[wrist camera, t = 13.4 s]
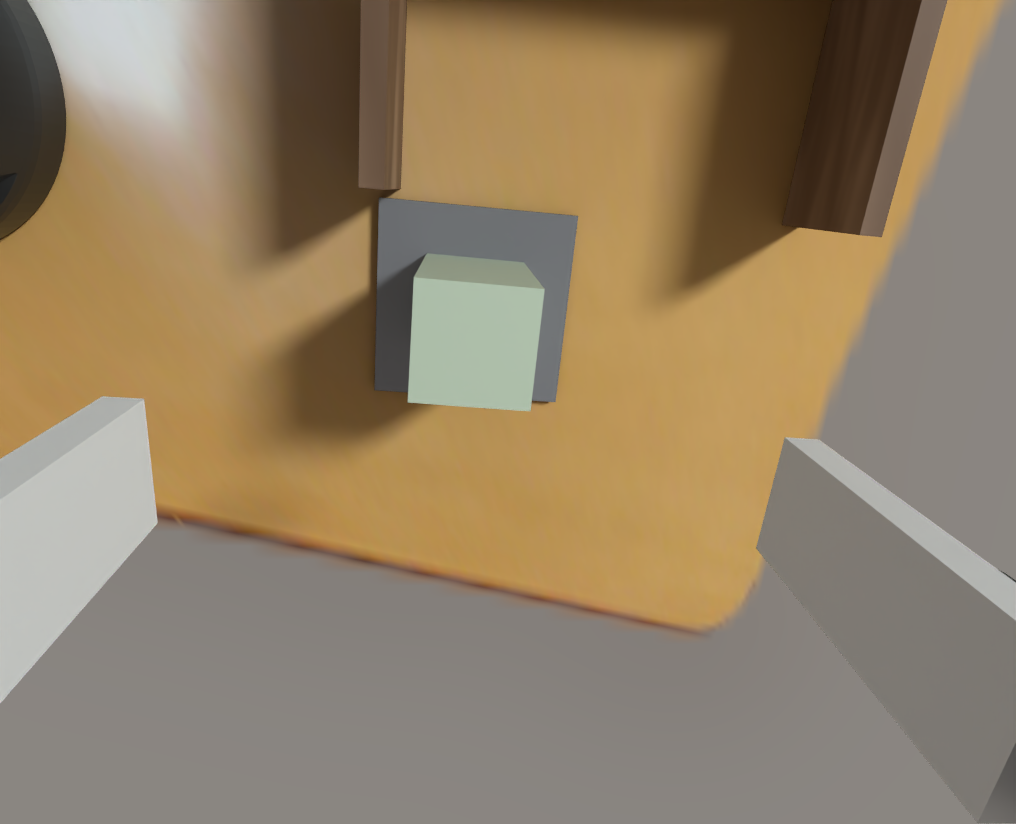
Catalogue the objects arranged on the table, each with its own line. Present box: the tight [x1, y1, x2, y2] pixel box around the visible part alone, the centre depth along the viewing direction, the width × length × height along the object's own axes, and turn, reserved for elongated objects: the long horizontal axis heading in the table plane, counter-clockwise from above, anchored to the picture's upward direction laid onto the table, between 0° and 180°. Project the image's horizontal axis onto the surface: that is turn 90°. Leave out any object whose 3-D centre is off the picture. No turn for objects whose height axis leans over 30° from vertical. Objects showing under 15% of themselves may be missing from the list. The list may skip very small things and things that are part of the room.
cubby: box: [359, 0, 947, 237], centre depth 27 cm, size 22×13×7 cm, turn 85°
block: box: [408, 253, 545, 411], centre depth 29 cm, size 5×5×9 cm
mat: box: [375, 197, 578, 402], centre depth 34 cm, size 10×10×1 cm
